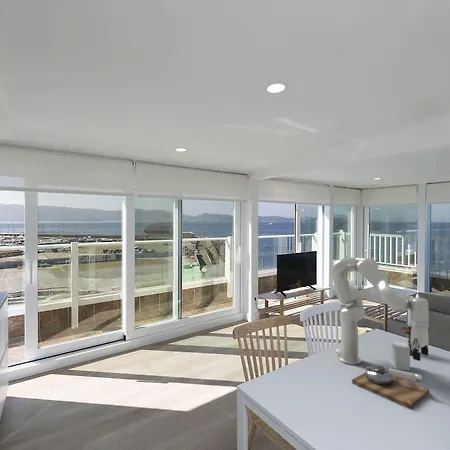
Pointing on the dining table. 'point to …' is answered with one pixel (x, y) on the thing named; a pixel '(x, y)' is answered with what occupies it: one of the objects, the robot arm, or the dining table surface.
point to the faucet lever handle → (388, 375)
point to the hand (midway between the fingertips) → (420, 357)
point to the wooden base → (395, 390)
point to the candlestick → (408, 331)
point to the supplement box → (400, 356)
